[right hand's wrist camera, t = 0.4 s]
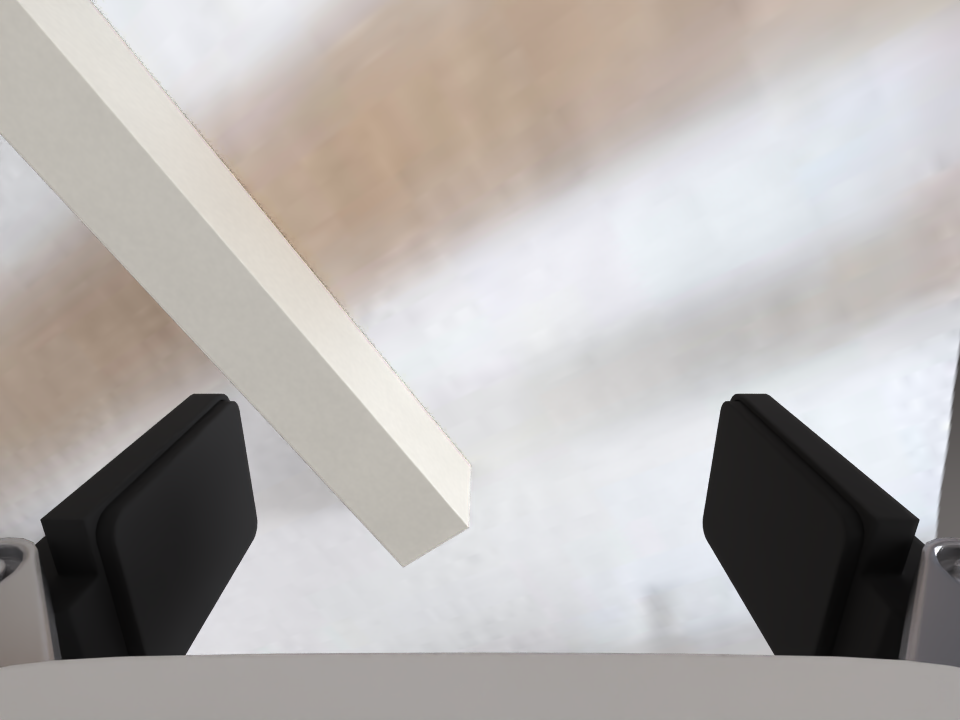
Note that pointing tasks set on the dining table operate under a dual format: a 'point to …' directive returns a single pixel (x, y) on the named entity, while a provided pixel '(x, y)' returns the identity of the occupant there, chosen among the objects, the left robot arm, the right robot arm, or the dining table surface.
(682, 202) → the dining table surface
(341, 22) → the dining table surface
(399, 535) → the block
